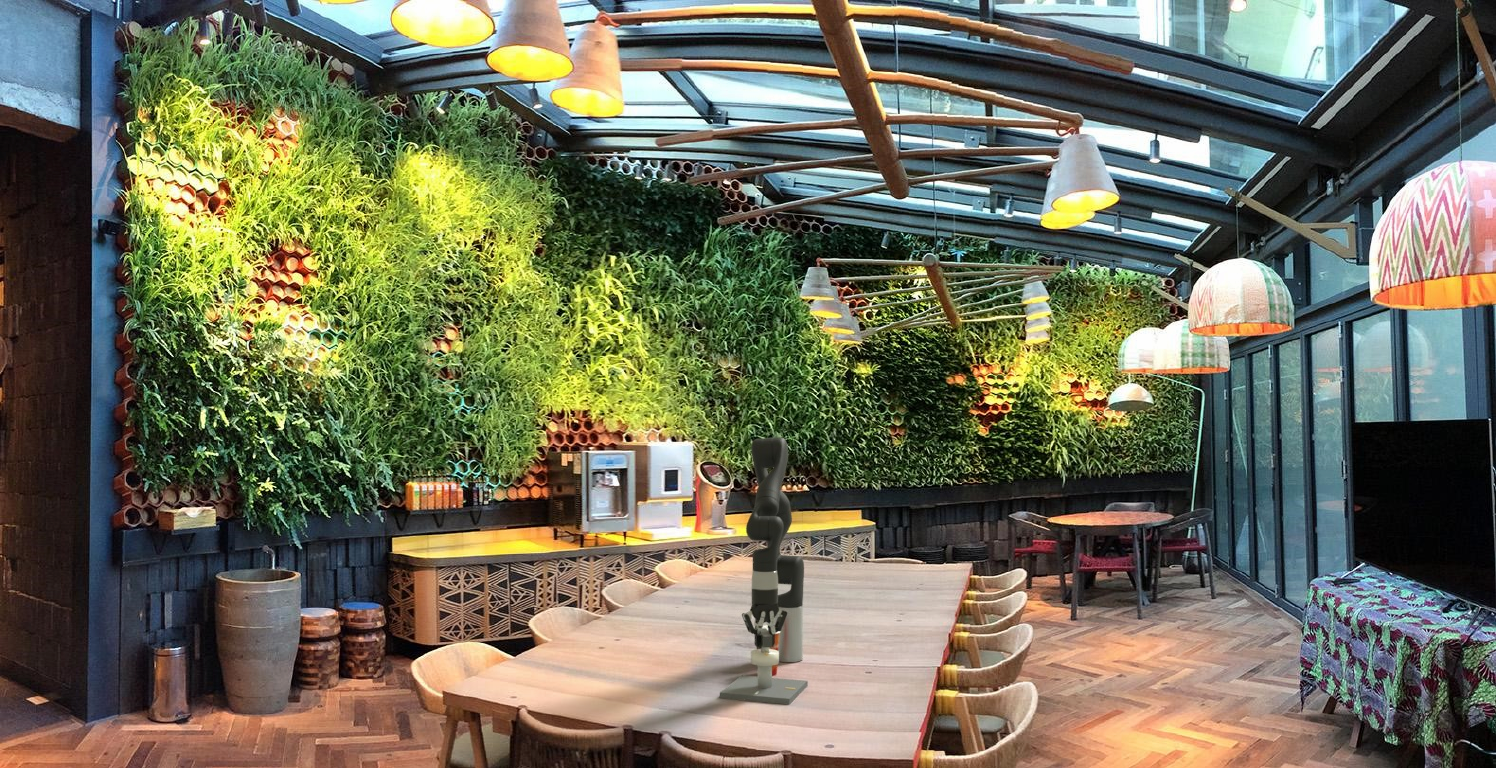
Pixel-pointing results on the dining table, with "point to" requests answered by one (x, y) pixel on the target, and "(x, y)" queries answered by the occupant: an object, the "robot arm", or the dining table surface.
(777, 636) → the paper cup
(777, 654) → the coupling
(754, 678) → the post board
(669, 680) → the dining table surface
